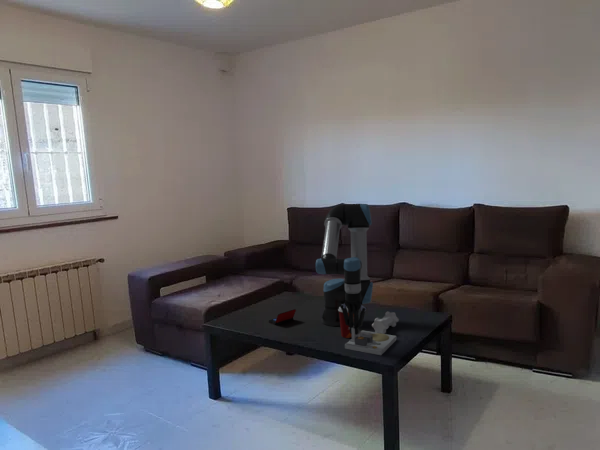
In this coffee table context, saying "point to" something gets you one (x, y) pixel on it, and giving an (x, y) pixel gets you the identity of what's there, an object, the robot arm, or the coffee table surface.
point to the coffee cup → (344, 325)
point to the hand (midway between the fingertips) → (354, 340)
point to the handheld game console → (283, 317)
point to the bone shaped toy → (385, 322)
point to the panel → (372, 342)
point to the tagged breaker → (361, 341)
